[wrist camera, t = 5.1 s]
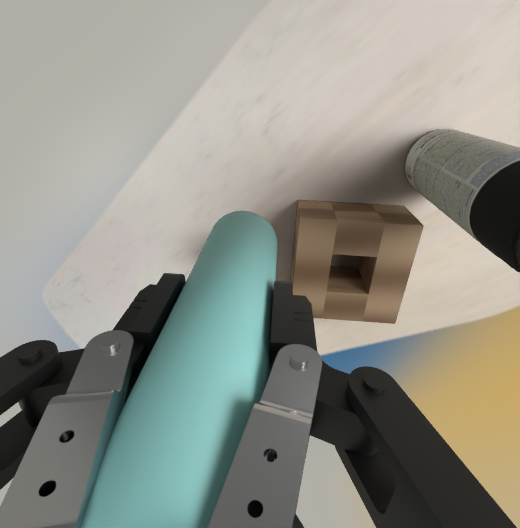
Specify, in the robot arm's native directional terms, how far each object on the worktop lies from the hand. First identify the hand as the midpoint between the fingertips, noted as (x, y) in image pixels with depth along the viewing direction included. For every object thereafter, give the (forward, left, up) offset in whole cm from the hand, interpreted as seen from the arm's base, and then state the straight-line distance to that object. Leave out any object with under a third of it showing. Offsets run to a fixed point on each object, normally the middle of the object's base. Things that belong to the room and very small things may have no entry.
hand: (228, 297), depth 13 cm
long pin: (0, 0, -5) cm, 5 cm away
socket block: (+10, +10, -26) cm, 30 cm away
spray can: (-1, +18, -27) cm, 32 cm away
